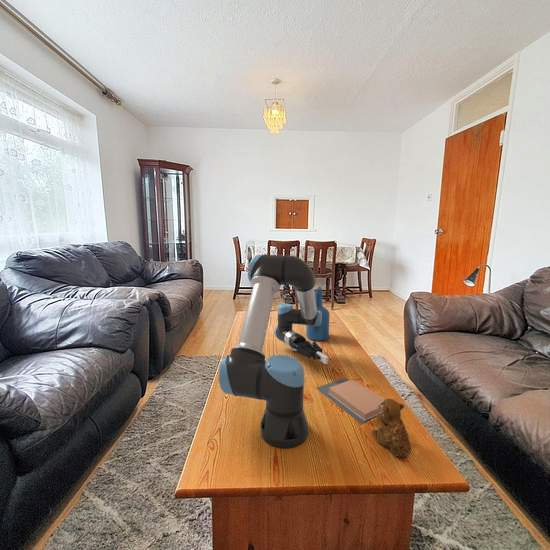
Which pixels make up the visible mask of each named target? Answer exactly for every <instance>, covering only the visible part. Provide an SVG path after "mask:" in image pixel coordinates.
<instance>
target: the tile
mask: <svg viewBox="0 0 550 550" xmlns="http://www.w3.org/2000/svg"><path fill="white" fill-rule="evenodd" d="M329 394H330V395H331V396H333V397H334V398H335V399H336V400H338V401H339V402H340V403H342V404H343V405H344V406H346V407H347V408H348V409H350V410H351V411H352V412H354V413H355V414H356V415H358V416H359V417H360V418H361V419H363V420H364V421H365V420H368V419H370V418H372V417H374V416H376V415H377V414H379V413H383V409H382V405H381V403H382V402H383V401H384V400H385V399H384V398H382V397H381V396H379V395H377V394H376V393H374V392H373V391H371V390H369V389H368V388H366V387H365V386H363V385H361V384H360V383H358V382H357V381H355V380H353V379H349V381H346V382H344V383H341V384H338V385H335V386H332V387H329ZM380 405H381V406H380ZM378 406H380V409H379V407H378ZM377 407H378V408H377ZM376 417H377V416H376Z"/></svg>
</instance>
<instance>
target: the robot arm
mask: <svg viewBox="0 0 550 550" xmlns="http://www.w3.org/2000/svg"><path fill="white" fill-rule="evenodd" d="M247 277H248V281H249V283H250V285H251V287H252V290H251V293H250V297H249V302H248V303H247V304H248V305H247V309H246V312H245V316H244V320H243V323H242V327H241V331H240V335H239V338H238V341H237V345H235V346H233V347H232V348H231V349H230V353H229V354H226V355H224V356H223V357H222V358H221V360H220V364H219V367H218V384H219V387H220V389H221V391H222V392H223V393H224V394H227V395H230V396H231V395H232V396H234V397H242V398H247V399H248V398H249V399H254V400H260V401H265V409H264V411H263V412H264V413H263V415H262V418H261V420H260V428H259V429H260V430H259V431H260V432H259V433H260V436H261V437H262V439H263V441H265V442H266V443H267V444H268V445H270V446H272V447H275V448H279V449H280V448H281V449H291V448H295V447H298V446H300V445H302V444H303V443H304V442H305V441H306V440H307V439H308V436H309V423H308V419H307V416H306V412H305V409H304V392H305V390H304V389H305V374H304V373H305V371H304V366H303V365H302V363H301V362H300V361H299V360H297V359H296V358H294V357H293V356H289V355H284V354H277V355H275V354H274V355H271V356H269V357H267V359H266V355H265V354H264V352H263V348H264V343H265V339H266V334H267V329H268V325H269V321H270V316H271V312H272V308H273V304H274V303H273V302H274V297H275V294H276V293H278V292H279V291H280V289H281V286H292V287H293V289H294V290H295V292H296V296H297V300H298V305H299V308H294V306H293V304H291V303H286V302H284V303H280V304H279V305H278V306H277V325H276V326H275V328H274V329H273V334H274V336H275V338H277V340H279V341H281V342H283V343H284V344H285V345H287V346H289V347H290V348H291V349H292V353H295V354H298V355H300V356H303V357H306V358H308V359H311V358H312V360H315V359H316V360H318V361H320V362H321V363H323V364H324V365H327V364H329V356H328V355H326V354H324V353H323V348H322V347H321V346H320V345H318V344H317V341H316V340H312V341H313V342H310V341H309V340H307V339H306V338H305V336H303V335H302V334H300V333H298V331H297V332H296V331H295V330H293V325H300V326H302V325H303V326H306V325H310V326H320V325H321V322H322V312H321V311H318V310H317V308H316V301H315V285H316V276H315V274H314V271H313V269H312V268H311V266H310V265H309V264H308V263H307V262H306V261H304V260H303V259H302V258H299V257H298V256H296V255H289V254H288V255H285V254H284V255H283V254H280V255H279V254H277V255H276V254H266V253H264V254H257V255H254V256H253V257H252V258H251V260H250V262H249V264H248V271H247Z"/></svg>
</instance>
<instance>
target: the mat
mask: <svg viewBox="0 0 550 550" xmlns="http://www.w3.org/2000/svg"><path fill="white" fill-rule="evenodd" d="M349 380H350V379H348V378H347V377H343V378H340V379H336V380H335V381H332V382H329V383H326V384H323V385H320V386H317V387H315V389H316V390H317V391H319V392H320V393H321V394H323V395H324V396H325V397H326V398H328V399H329V400H330V401H331V402H333V403H334V404H335V405H336V406H338V407H339V408H340V409H342V410H343V411H344V412H345V413H347V414H348V415H349V416H350V417H352V418H353V419H354V420H356V421H357V422H358V423H359V424H361V425H363V424H366V423H367V422H369V421H372V420H374V419H375V418H376V419H377V415H376V416H374V417H372V418H370V419H368V420H365V421H364V420H363V419H361V418H360V417H359V416H358V415H356V414H355V413H354V412H352V411H351V410H350V409H348V408H347V407H346V406H344V405H343V404H342V403H340V402H339V401H338V400H336V399H335V398H334V397H333V396H331V395H330V394H329V387H332V386H335V385H338V384H341V383H344V382H346V381H349ZM381 414H382V415H383V416H384V414H383V413H381Z"/></svg>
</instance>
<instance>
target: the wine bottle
mask: <svg viewBox="0 0 550 550" xmlns="http://www.w3.org/2000/svg"><path fill="white" fill-rule="evenodd" d="M314 293H315V301H316V308H317V310H318V311H321V312H322V322H321V325H320V326H310V325H305V327H306V330H305V331H306V332H305V333H306V334H305V336H306V338H308V339H309V340H312V341H316V342H320V341H321V342H322V341H326V340H328V339H329V337H330V317H331V316H330V315H331V313H330V311H329V309H328V308H327V307H325V306H324V305H323V294H324V293H323V288H322V286H321V285H317V286H316V288H315V290H314Z"/></svg>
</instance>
